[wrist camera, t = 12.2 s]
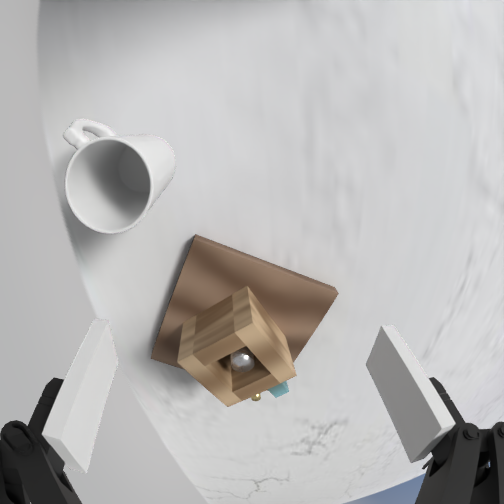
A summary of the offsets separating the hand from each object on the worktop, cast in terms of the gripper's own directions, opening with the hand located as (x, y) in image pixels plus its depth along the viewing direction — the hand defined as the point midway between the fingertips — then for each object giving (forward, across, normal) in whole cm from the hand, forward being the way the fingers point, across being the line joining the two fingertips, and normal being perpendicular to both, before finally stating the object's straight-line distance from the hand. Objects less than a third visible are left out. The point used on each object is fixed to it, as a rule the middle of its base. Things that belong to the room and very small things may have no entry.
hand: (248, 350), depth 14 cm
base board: (+20, +1, -14) cm, 25 cm away
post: (+19, +1, -14) cm, 23 cm away
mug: (+21, -11, +6) cm, 24 cm away
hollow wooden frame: (+19, +3, -17) cm, 25 cm away
